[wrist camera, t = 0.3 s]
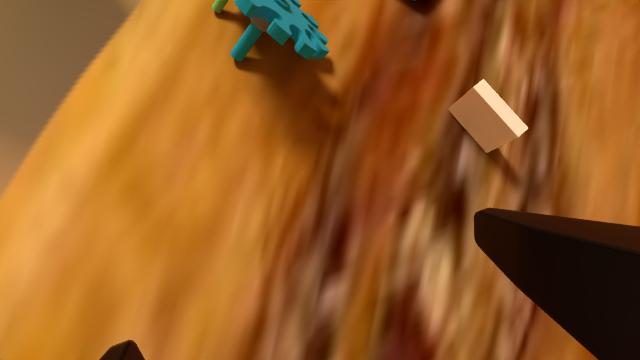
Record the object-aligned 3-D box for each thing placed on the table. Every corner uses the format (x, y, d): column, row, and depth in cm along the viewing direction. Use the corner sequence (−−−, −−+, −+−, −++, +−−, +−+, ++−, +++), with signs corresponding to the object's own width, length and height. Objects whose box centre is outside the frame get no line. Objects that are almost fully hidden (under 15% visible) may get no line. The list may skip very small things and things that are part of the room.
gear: (355, 60, 25) (266, 14, 17) (306, 112, 28) (209, 94, 20) (285, -31, 28) (181, -108, 20) (247, 24, 31) (142, -23, 23)
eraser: (456, 101, 28) (483, 78, 24) (495, 145, 27) (528, 128, 24) (446, 109, 28) (473, 87, 24) (485, 153, 27) (518, 137, 24)
